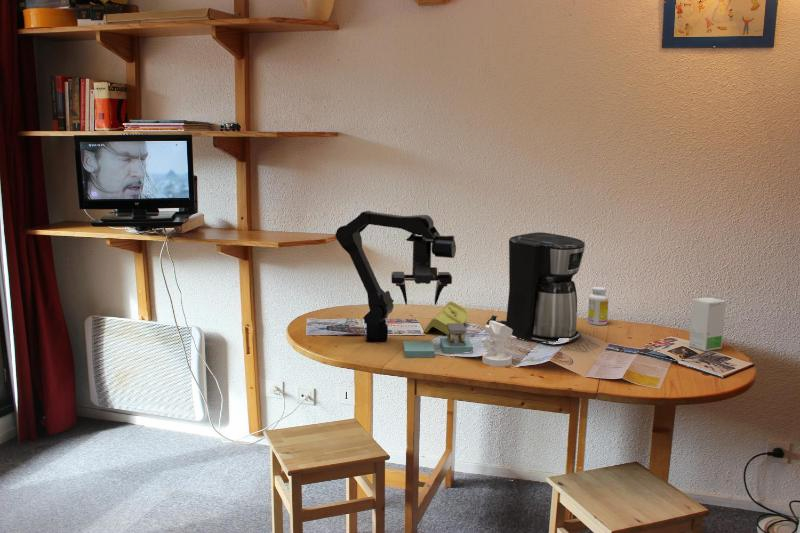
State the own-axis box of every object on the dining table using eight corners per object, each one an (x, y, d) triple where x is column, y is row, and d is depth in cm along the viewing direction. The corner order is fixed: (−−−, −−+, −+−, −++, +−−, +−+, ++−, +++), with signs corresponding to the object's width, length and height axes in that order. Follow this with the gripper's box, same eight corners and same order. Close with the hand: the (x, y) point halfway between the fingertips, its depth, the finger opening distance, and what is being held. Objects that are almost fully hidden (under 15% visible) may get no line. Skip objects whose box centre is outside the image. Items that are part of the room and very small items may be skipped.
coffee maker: (575, 349, 211) (581, 242, 205) (475, 338, 222) (477, 236, 216) (583, 330, 232) (589, 233, 226) (491, 321, 243) (494, 228, 237)
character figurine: (476, 359, 200) (477, 320, 198) (502, 355, 205) (503, 316, 203) (494, 368, 193) (495, 327, 191) (520, 363, 197) (522, 323, 195)
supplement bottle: (608, 322, 243) (610, 287, 241) (605, 326, 237) (607, 290, 235) (589, 319, 246) (591, 285, 244) (585, 324, 240) (587, 288, 238)
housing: (449, 346, 207) (449, 330, 206) (446, 338, 215) (447, 323, 214) (465, 345, 207) (466, 330, 206) (462, 338, 215) (462, 323, 214)
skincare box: (704, 352, 209) (709, 303, 206) (686, 346, 215) (691, 298, 212) (722, 348, 213) (727, 300, 210) (704, 342, 219) (709, 296, 216)
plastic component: (456, 330, 223) (430, 315, 224) (447, 348, 225) (421, 333, 227) (471, 312, 241) (447, 298, 242) (462, 329, 243) (438, 315, 245)
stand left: (404, 357, 202) (404, 351, 201) (403, 347, 212) (403, 341, 211) (434, 357, 202) (434, 351, 202) (431, 347, 212) (432, 341, 212)
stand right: (443, 353, 206) (443, 347, 206) (440, 343, 216) (440, 337, 216) (472, 353, 206) (472, 346, 206) (468, 343, 216) (468, 337, 216)
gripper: (392, 260, 202) (391, 310, 205) (454, 260, 203) (453, 311, 206) (391, 253, 213) (391, 301, 216) (450, 254, 214) (449, 302, 217)
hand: (420, 304), depth 213 cm, fingers open, 9 cm apart
